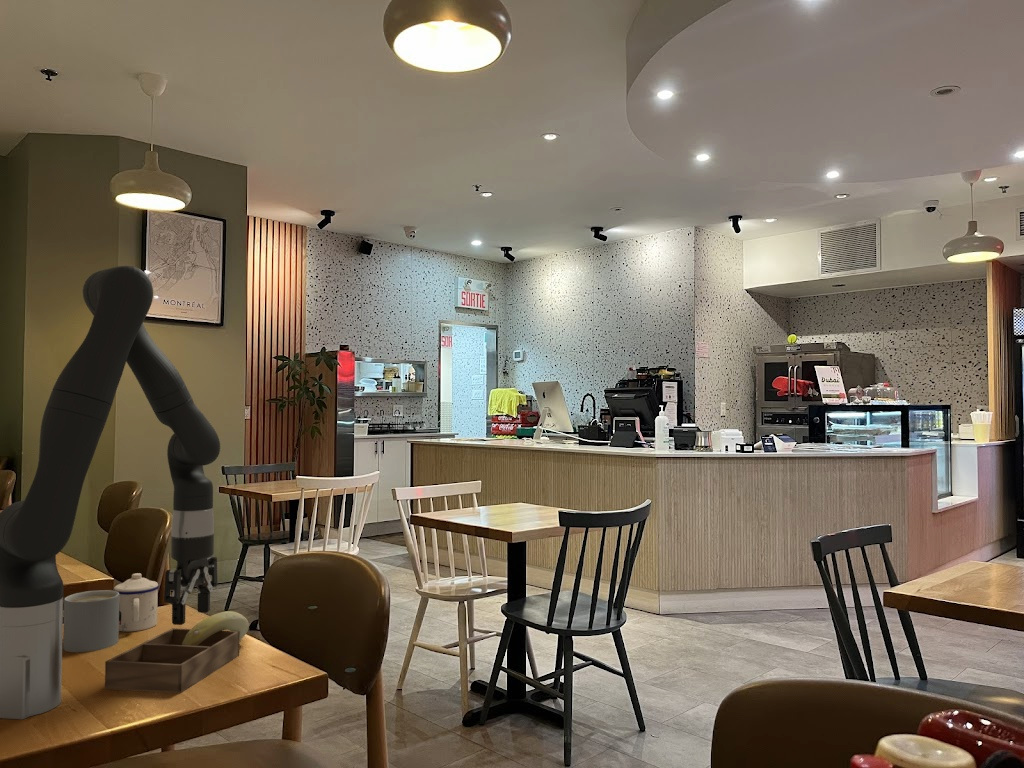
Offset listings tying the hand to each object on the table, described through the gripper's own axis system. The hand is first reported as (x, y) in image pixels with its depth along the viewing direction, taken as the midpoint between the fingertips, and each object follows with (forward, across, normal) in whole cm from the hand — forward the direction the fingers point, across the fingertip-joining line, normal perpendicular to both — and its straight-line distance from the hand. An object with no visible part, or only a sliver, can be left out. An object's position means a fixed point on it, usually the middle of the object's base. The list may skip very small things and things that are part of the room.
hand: (191, 618), depth 144 cm
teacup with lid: (+9, +20, +25) cm, 33 cm away
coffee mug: (+9, +9, +28) cm, 31 cm away
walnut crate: (+9, -5, 0) cm, 10 cm away
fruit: (+5, -2, 0) cm, 6 cm away
